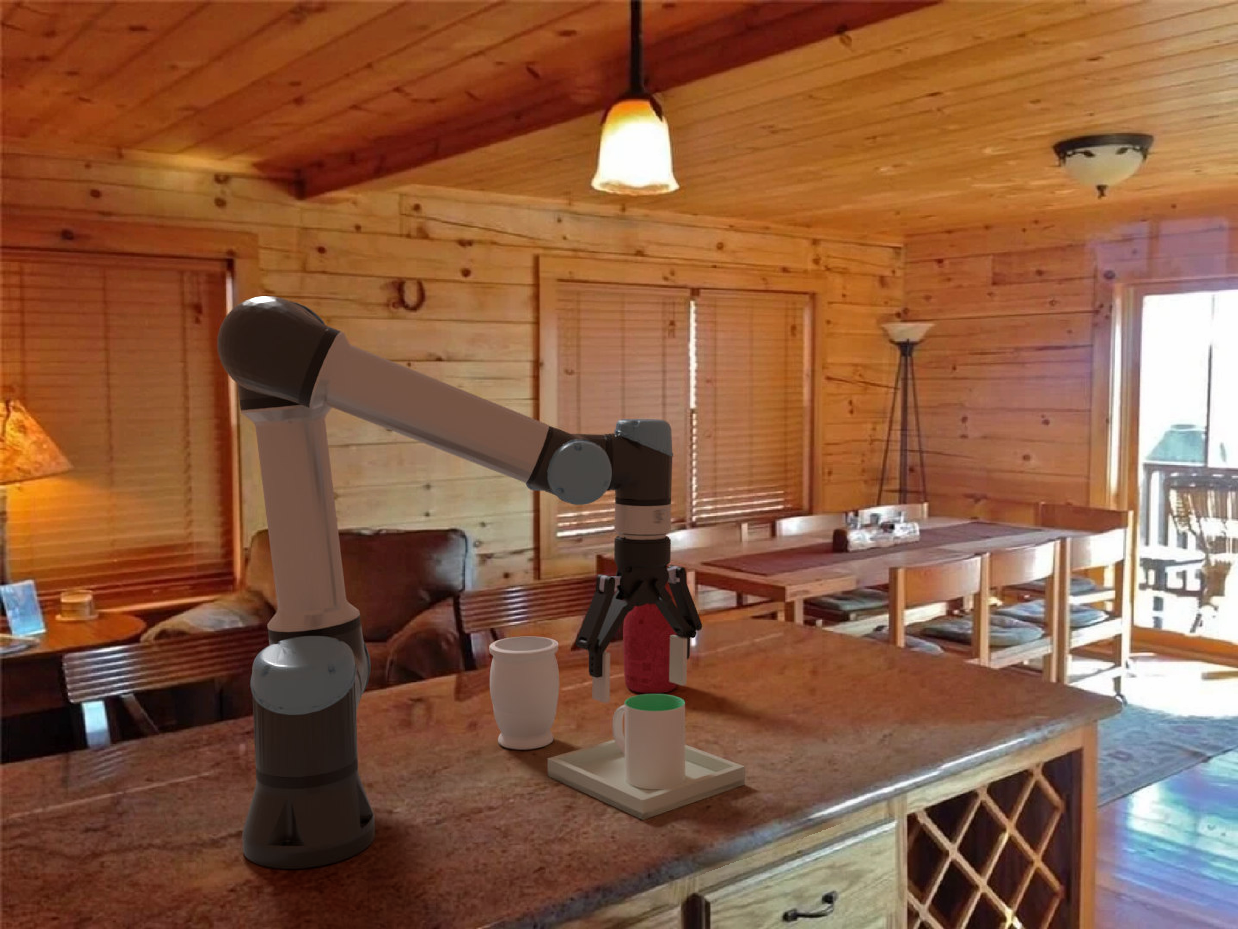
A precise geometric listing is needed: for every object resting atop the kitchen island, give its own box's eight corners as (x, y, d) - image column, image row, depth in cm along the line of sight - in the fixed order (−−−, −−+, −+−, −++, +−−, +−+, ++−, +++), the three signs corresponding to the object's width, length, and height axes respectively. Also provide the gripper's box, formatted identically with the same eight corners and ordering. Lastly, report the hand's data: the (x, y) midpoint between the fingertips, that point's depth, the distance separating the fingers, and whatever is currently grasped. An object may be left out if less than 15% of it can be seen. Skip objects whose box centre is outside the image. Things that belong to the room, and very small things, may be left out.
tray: (642, 820, 138) (642, 800, 137) (547, 776, 153) (547, 758, 153) (744, 784, 149) (744, 766, 149) (647, 747, 164) (646, 730, 164)
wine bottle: (689, 685, 197) (688, 516, 194) (661, 699, 189) (660, 523, 186) (642, 677, 202) (640, 513, 200) (613, 690, 194) (611, 519, 191)
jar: (549, 755, 161) (548, 653, 160) (481, 751, 163) (479, 651, 162) (567, 732, 172) (566, 636, 170) (503, 728, 174) (501, 634, 172)
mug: (592, 771, 152) (591, 696, 151) (634, 757, 158) (633, 685, 157) (656, 794, 144) (655, 715, 143) (697, 778, 149) (697, 702, 148)
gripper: (585, 546, 137) (584, 715, 139) (729, 531, 153) (726, 682, 155) (550, 539, 143) (548, 701, 145) (691, 525, 159) (689, 671, 161)
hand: (640, 691), depth 150 cm, fingers open, 13 cm apart
